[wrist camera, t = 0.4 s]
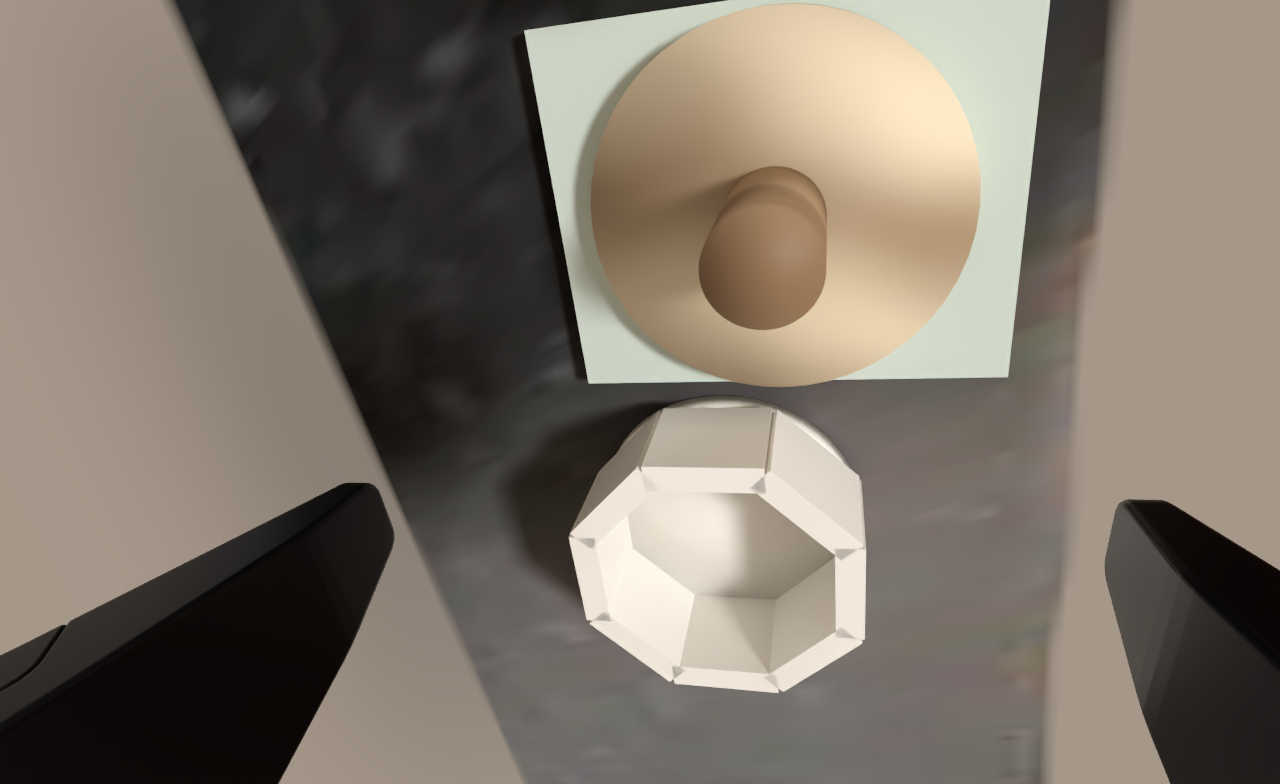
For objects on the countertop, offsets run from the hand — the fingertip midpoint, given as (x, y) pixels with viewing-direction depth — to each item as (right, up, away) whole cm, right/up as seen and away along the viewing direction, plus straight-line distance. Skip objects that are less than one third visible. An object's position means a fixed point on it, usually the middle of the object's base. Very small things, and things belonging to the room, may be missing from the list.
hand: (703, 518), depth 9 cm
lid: (+3, +6, +10) cm, 12 cm away
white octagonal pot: (+2, -2, +16) cm, 16 cm away
